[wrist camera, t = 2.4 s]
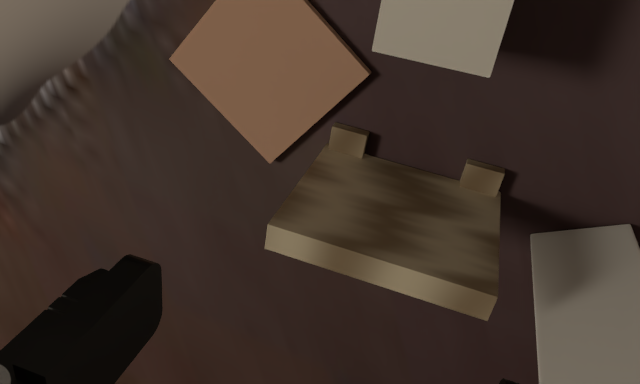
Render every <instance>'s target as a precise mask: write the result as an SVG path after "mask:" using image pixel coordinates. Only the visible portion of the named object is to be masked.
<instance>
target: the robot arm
mask: <svg viewBox="0 0 640 384" xmlns="http://www.w3.org/2000/svg"><path fill="white" fill-rule="evenodd" d="M161 315H162V277H161V266H160V265H159V264H158V263H155V262H152V261H149V260H146V259H143V258H140V257H137V256H134V255H131V254H129V255H126V256H124V257H123V258H122V259H121V260H120V261H119V262H118V263H117V264H116V265H115V266H114V267H113V268H111V269H110V270H109V271H108V270H105V269H102V268H100V269H98V270H96V271H94V272H92V273H90V274H88V275H86V276H84V277H82V278H80V279H78V280H77V281H76V282H75V283H74V284H73V285H72V286H71V287H69V288H68V289H67V290H66V291H65V292H64V293H63V294H62V296H61V298H60V297H58V298H57V299H56V300H55V301H54V302H53V303H52V304H51V305H50V306H49V307H48V310H44V311H43V312H42V313H41V314H40V315H39V316H38V317H37V318H35V319H34V320H33V321H32V322H31V323H30V324H29V325H28V326H27V327H26V328H25V329H23V330H22V331H21V332H20V333H19V334H18V335H17V336H16V337H15V338H14V339H12V340H11V341H10V342H9V343H8V344H7V345H6V346H5V347H4V348H3V349H2V350H0V384H114V383H115V382H116V381H117V380H118V378H119V377H120V376H121V375H122V373H123V372H124V371H125V370H126V368H127V367H128V366H129V364H130V363H131V362H132V361H133V359H134V358H135V357H136V356H137V354H138V353H139V352H140V351H141V349H142V348H143V347H144V346H145V344H146V343H147V342H148V341H149V339H150V338H151V337H152V335H153V334H154V332H155V331H156V329H157V327H158V325H159V322H160V319H161ZM499 384H519V383H516V382H513V381H510V380H507V379H504V378H503V379H502V380H501V381H500V383H499Z"/></svg>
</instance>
